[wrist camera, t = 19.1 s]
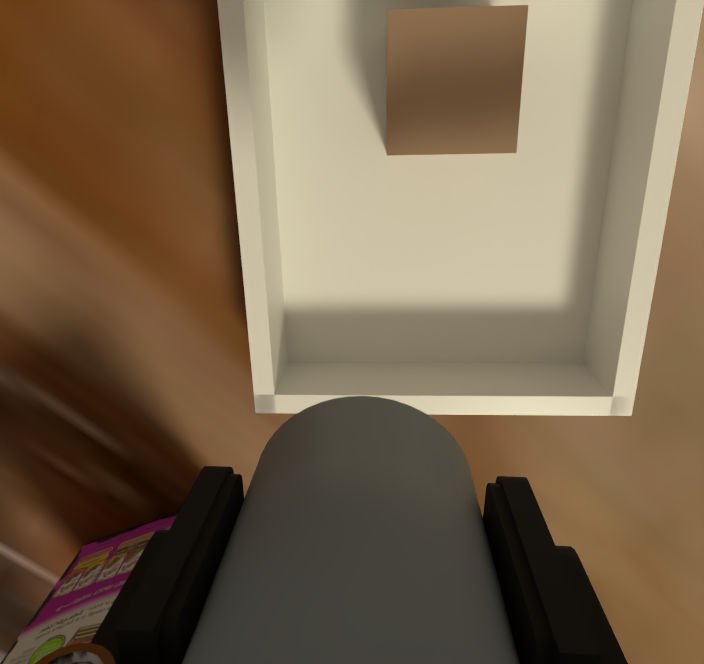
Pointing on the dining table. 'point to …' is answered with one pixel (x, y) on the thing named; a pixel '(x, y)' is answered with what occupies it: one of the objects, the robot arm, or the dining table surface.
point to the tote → (453, 211)
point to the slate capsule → (357, 549)
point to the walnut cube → (454, 79)
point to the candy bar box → (83, 594)
